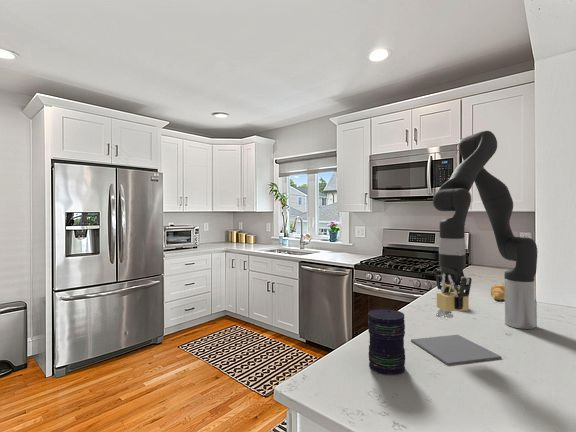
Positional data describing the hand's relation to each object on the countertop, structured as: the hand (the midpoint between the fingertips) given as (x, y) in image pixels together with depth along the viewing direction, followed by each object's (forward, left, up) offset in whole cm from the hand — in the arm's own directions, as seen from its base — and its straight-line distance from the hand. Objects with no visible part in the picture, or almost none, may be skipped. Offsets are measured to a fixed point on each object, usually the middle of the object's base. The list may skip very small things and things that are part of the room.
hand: (452, 306), depth 103 cm
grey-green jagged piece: (-17, -29, -14) cm, 36 cm away
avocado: (-33, -42, -14) cm, 55 cm away
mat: (0, 0, -13) cm, 13 cm away
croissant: (-67, -49, -14) cm, 84 cm away
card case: (0, 0, -1) cm, 1 cm away
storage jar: (+26, +6, -14) cm, 30 cm away
